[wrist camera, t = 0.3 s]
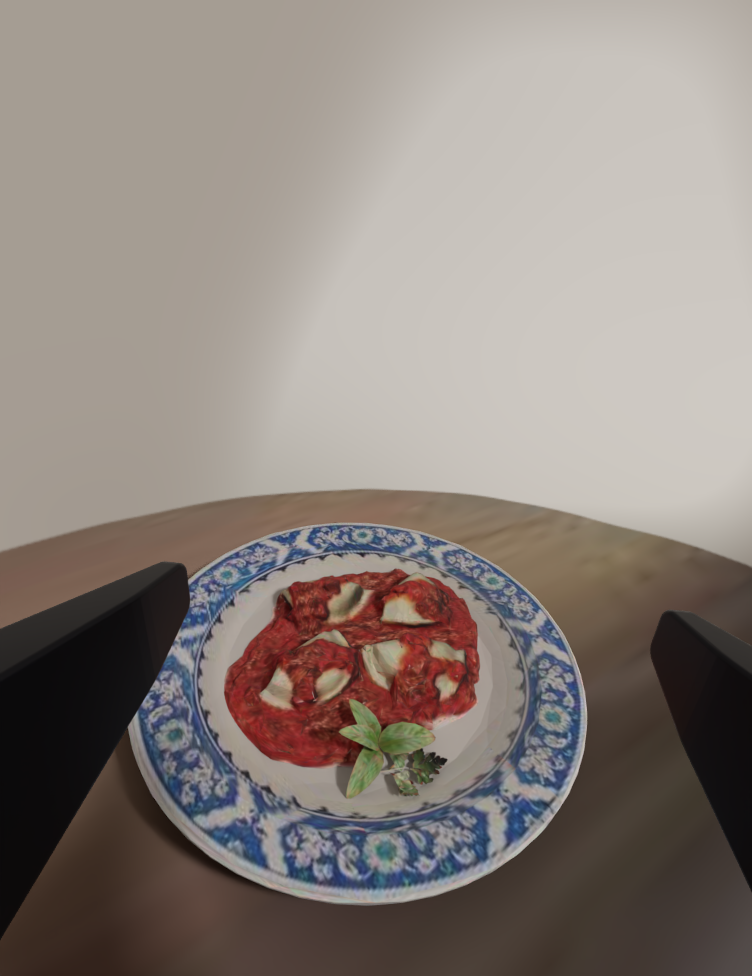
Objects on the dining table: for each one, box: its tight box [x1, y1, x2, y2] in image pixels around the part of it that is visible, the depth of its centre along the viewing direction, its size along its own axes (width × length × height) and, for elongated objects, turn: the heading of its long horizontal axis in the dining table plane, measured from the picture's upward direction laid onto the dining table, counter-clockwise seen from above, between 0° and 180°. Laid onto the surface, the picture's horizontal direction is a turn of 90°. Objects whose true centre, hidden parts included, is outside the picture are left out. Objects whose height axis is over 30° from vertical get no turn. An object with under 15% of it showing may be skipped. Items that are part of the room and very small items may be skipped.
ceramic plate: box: [128, 523, 587, 906], centre depth 28 cm, size 26×26×3 cm
